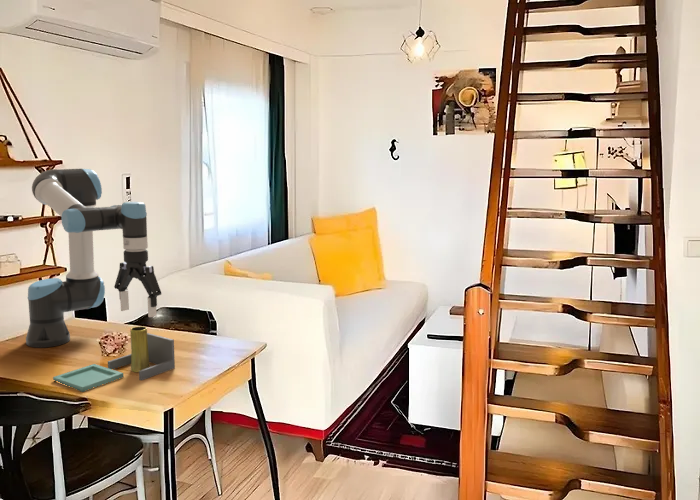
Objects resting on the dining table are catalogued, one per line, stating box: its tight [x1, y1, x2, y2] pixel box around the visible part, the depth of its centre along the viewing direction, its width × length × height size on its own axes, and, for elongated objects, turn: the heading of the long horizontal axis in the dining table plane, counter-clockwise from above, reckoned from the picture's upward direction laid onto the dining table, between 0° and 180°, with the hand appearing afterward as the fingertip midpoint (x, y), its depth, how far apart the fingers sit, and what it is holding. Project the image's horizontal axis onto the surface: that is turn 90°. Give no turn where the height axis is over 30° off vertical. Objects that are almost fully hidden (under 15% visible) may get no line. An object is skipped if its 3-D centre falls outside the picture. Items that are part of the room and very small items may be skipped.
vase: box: [129, 325, 151, 373], centre depth 218 cm, size 6×6×14 cm
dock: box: [107, 332, 176, 381], centre depth 219 cm, size 17×14×10 cm
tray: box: [52, 363, 124, 393], centre depth 209 cm, size 15×15×2 cm
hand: (138, 313), depth 216 cm, fingers open, 13 cm apart
